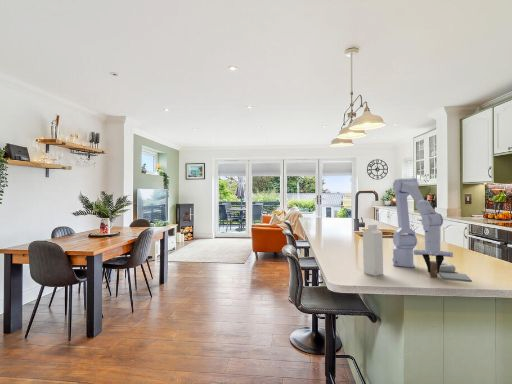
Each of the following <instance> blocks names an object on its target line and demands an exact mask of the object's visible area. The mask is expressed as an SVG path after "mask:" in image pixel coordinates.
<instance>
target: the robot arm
mask: <svg viewBox="0 0 512 384" xmlns="http://www.w3.org/2000/svg"><path fill="white" fill-rule="evenodd" d="M419 184H420V183H419V182H418V179H417V178H415V177H410V178H409V177H408V178H404V177H401V178H400V177H396V178H395V179H394V180H393V183H392V187H393V195H394V196H395V203H396V213H397V215H396V216H397V222H398V223H397V227H398V228H397V229H396V230H394V232H393V237H392V243H393V245H394V246H395V247H392V255H393V256H392V263H393V266H394V267H403V268H404V267H406V268H415V267H416V266H415V263H414V256H422V258H423V260H424V262H425V264H426V268H427V272H428V273H430V261H431V258H430V257H431V256H433V257H435V262H436V263H437V274H439V268H440V266H441V263H442V262H443V261H444V260H445V258H447V257H449V258H454V252H452V251H445V250H444V251H443V250H441V228H440V227H442V225H443V223H444V218H443V216H442V214H441V213H439V212H437V211H435V210H434V208H433V207H432V205H431V203H430V202H429V201H428V200H426V199H424V197H423V195H422V193H421V191H420V189H419V186H420V185H419ZM409 196H411V198H412V199H413V201H414V202H415V209H416V210H417V212H418V214H420V217H421V219H420V220H421V225H422V228H423V231H424V249H415V247H416V246H417V244H418V238H417V236H416V232H415V230H413V229H412V228H411V225H410V224H411V223H410V214H409V205H408V197H409Z"/></svg>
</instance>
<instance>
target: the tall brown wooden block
mask: <svg viewBox="0 0 512 384" xmlns="http://www.w3.org/2000/svg"><path fill="white" fill-rule="evenodd" d="M428 273H429V272H428ZM429 276H430V278H432V279H438V277H439V276H438V273H437V263H436V260H430V273H429Z"/></svg>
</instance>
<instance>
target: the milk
mask: <svg viewBox="0 0 512 384" xmlns="http://www.w3.org/2000/svg"><path fill="white" fill-rule="evenodd" d="M383 239H384V238H383V231H381V230H380V229H379V228H378V224H370V225H368V226H367V229H365V230H363V231H362V252H363V253H362V254H363V255H362V256H363V274H366V275H370V276H372V277H373V276H374V277H376V276H380V275H384V250H383V249H384V248H383V246H384V245H383V244H384V242H383V241H384V240H383Z"/></svg>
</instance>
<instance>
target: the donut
mask: <svg viewBox="0 0 512 384" xmlns="http://www.w3.org/2000/svg"><path fill="white" fill-rule="evenodd" d="M456 270H457V269H456V266H455V265H454V264H452V263H448V262H442V263H441V266H440V268H439V272H446V273H455V271H456Z"/></svg>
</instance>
